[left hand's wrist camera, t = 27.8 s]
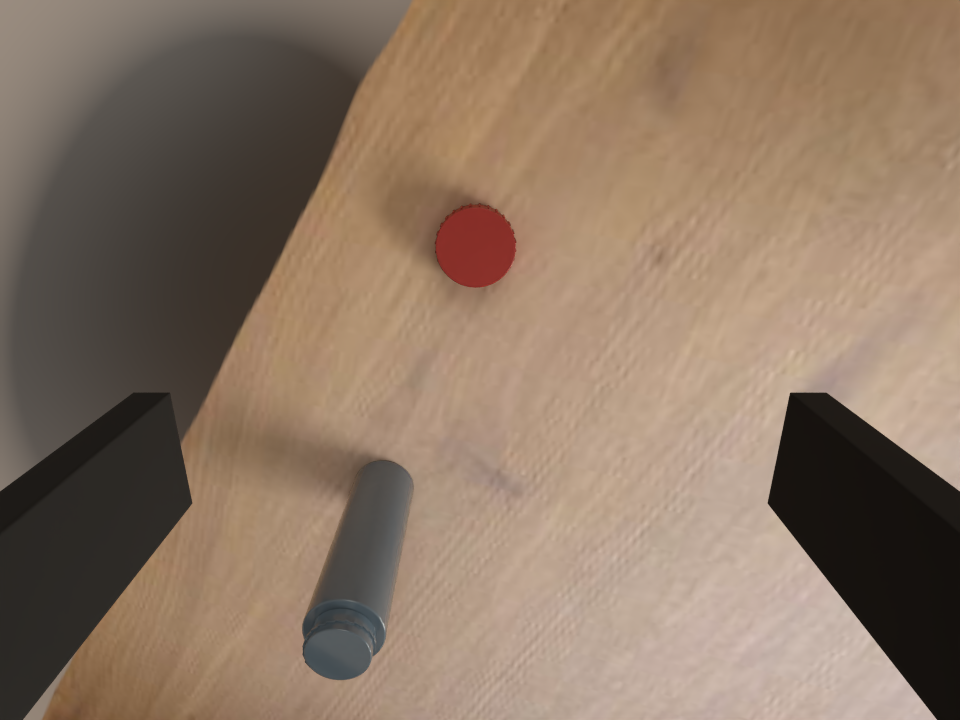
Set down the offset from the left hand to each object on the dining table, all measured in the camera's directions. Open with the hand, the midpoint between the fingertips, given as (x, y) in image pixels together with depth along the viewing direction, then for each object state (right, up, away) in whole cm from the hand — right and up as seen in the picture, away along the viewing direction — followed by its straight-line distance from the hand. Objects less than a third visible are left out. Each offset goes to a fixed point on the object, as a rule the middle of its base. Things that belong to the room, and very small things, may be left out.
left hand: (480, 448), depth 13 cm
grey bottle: (-7, -7, +31) cm, 32 cm away
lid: (0, +9, +23) cm, 25 cm away
